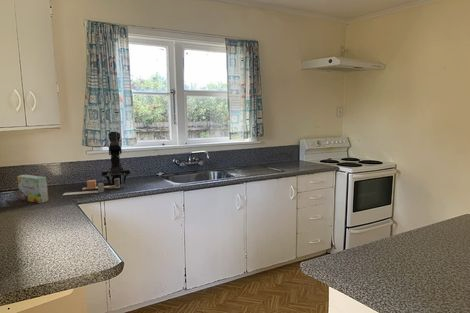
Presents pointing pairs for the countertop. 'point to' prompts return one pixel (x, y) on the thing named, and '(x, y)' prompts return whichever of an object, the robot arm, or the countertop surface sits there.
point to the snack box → (33, 188)
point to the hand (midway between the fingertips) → (117, 184)
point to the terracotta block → (91, 184)
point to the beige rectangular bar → (117, 185)
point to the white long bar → (100, 189)
